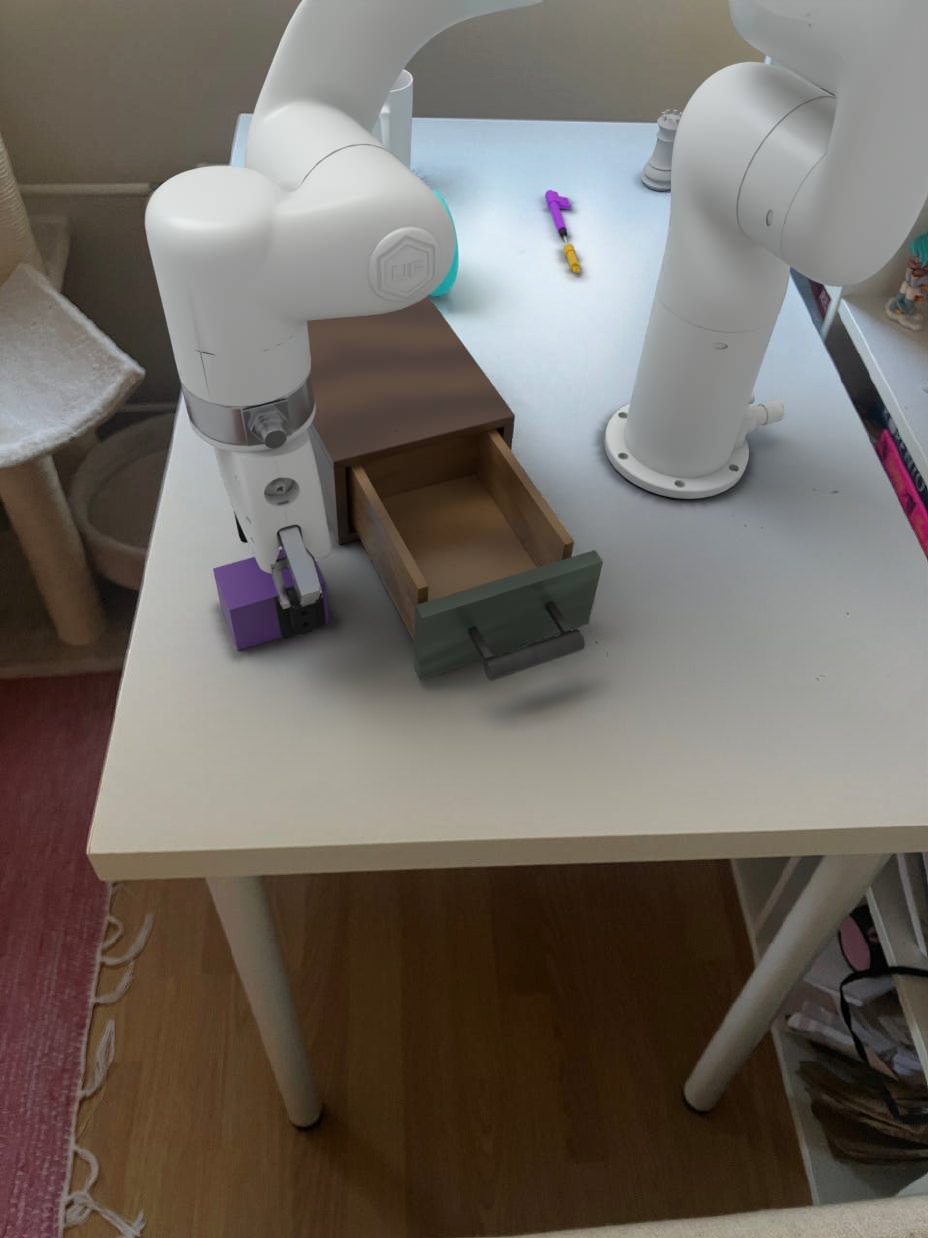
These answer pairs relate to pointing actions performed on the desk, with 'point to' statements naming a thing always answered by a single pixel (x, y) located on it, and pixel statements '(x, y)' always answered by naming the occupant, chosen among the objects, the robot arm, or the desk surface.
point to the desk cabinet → (392, 395)
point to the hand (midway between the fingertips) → (281, 580)
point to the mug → (397, 119)
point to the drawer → (472, 556)
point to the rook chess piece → (662, 153)
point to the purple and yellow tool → (562, 225)
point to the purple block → (253, 600)
